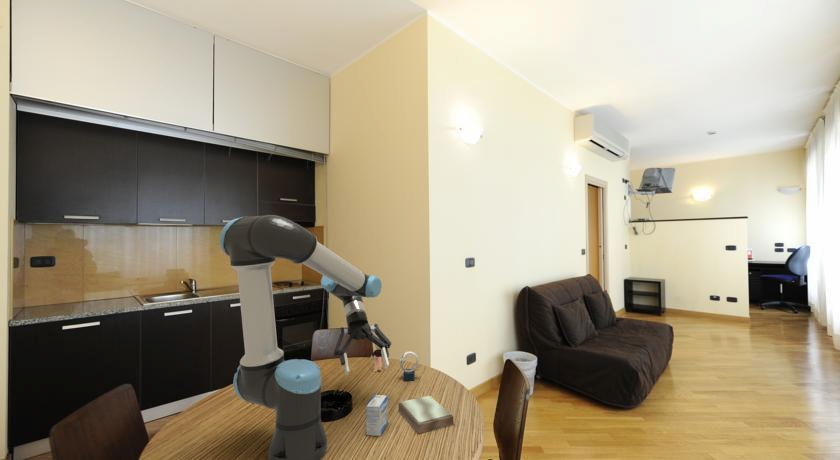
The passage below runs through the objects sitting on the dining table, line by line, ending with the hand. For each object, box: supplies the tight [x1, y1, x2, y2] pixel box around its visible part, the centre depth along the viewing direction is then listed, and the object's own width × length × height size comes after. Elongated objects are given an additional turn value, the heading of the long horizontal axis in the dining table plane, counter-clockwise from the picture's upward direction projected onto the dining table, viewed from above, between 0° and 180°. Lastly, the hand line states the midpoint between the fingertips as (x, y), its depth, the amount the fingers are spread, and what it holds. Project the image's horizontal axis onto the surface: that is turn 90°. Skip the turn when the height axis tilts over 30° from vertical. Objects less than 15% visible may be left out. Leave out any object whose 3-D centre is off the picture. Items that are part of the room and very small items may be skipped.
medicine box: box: [365, 394, 389, 437], centre depth 106 cm, size 8×4×9 cm, turn 168°
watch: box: [398, 351, 419, 383], centre depth 145 cm, size 6×8×11 cm
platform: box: [398, 395, 454, 435], centre depth 112 cm, size 12×16×3 cm
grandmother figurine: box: [369, 344, 384, 373], centre depth 155 cm, size 8×4×13 cm, turn 119°
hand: (368, 370), depth 116 cm, fingers open, 13 cm apart
